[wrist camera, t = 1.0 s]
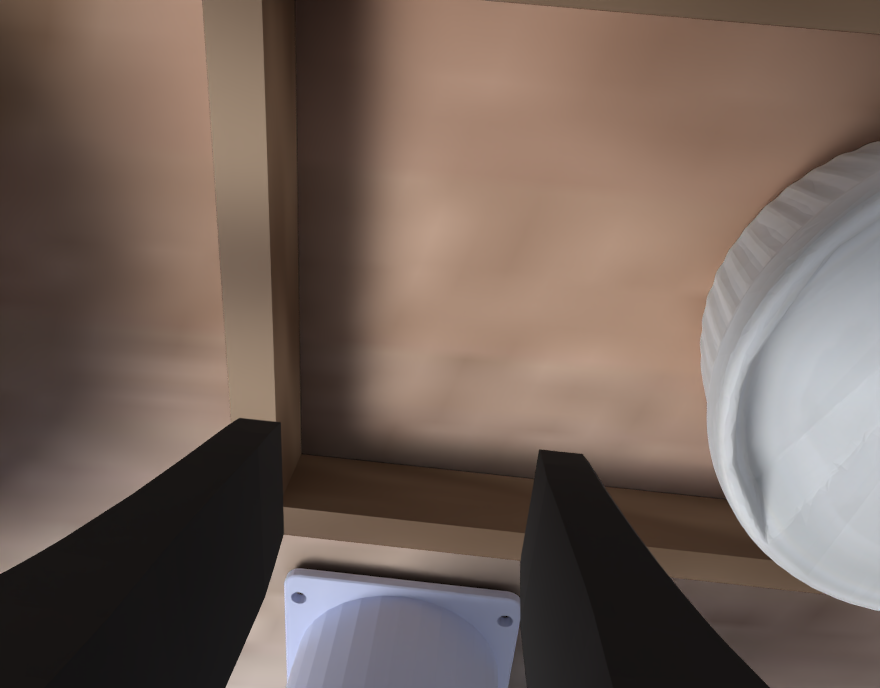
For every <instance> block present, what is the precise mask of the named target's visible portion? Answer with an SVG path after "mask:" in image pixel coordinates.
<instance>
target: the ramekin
mask: <svg viewBox="0 0 880 688" xmlns="http://www.w3.org/2000/svg"><path fill="white" fill-rule="evenodd" d="M700 351H701V373H702V378H703V385H704V390H705V395H706V400H707V434H708V442H709V449H710V453H711V458H712V462H713V466H714V469H715V472H716V475H717V478H718V480H719V483H720V485H721V488H722V490H723V492H724V494H725V496H726V499H727V501H728V503H729V505H730V506H731V508H732V510H733V512H734V514H735V515H736V517H737V519H738V520H739V522H740V524H741V525H742V527H743V528H744V529H745V531H746V532H747V534H748V535H749V536H750V538H751V539H752V540H753V541H754V542H755V543H756V544H757V545H758V547H759V548H760V549H761V550H762V551H763V552H764V553H765V554H766V555H767V556H769V557H770V558H771V559H772V560H773V561H774V562H775V563H776V564H778V565H779V566H780V567H782V568H783V569H784V570H786V571H787V572H789V573H790V574H791V575H793V576H794V577H796V578H797V579H799V580H801V581H802V582H804V583H806V584H807V585H809V586H810V587H812V588H814V589H816V590H818V591H821V592H823V593H825V594H828V595H830V596H832V597H834V598H836V599H839V600H842V601H845V602H847V603H850V604H853V605H857V606H861V607H865V608H868V609H872V610H876V611H880V141H877V142H872V143H869V144H866V145H864V146H862V147H861V148H859V149H857V150H855V151H852V152H848V153H844V154H841V155H838V156H836V157H835V158H833V159H832V160H831V161H829V162H827V163H826V164H824V165H822V166H819V167H817V168H815V169H813V170H812V171H810V172H809V173H807V174H806V175H805V176H804V177H802V178H801V179H800V180H798V181H797V182H795V183H793V184H791V185H790V186H788V187H787V188H786V189H784V191H783V192H782V193H781V194H780V195H779V196H778V197H777V198H776V199H774V200H773V201H771V202H770V203H769V204H767V205H766V206H765V207H764V208H763V209H762V210H761V212H760V213H759V214H758V215H757V216H756V218H755V219H754V220H753V221H752V222H751V223H750V224H749V225H748V226H747V227H746V228H745V229H744V231H743V232H742V234H741V236H740V237H739V238H738V240H737V241H736V242H735V243H734V245H733V246H732V247H731V248H730V249H729V251H728V253H727V255H726V258H725V260H724V262H723V263H722V265H721V266H720V268H719V269H718V270H717V272H716V275H715V280H714V284H713V286H712V288H711V290H710V292H709V293H708V296H707V301H706V308H705V311H704V314H703V318H702V334H701V338H700Z"/></svg>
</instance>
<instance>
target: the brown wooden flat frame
mask: <svg viewBox="0 0 880 688" xmlns="http://www.w3.org/2000/svg"><path fill="white" fill-rule="evenodd" d="M486 1H498V2H509V3H521V4H533V5H544V6H556V7H567V8H579V9H590V10H602V11H613V12H625V13H636V14H648V15H659V16H671V17H683V18H694V19H706V20H717V21H729V22H740V23H752V24H763V25H775V26H786V27H798V28H810V29H821V30H833V31H844V32H856V33H867V34H879V35H880V0H486ZM202 5H203V20H204V34H205V49H206V64H207V79H208V93H209V108H210V123H211V137H212V152H213V167H214V182H215V196H216V211H217V226H218V241H219V255H220V270H221V285H222V300H223V314H224V329H225V344H226V359H227V373H228V388H229V403H230V417H231V423H232V422H234V421H235V420H237V419H238V418H246V419H255V420H265V421H274V422H281V445H282V478H283V512H284V535H292V536H301V537H310V538H319V539H328V540H338V541H347V542H356V543H365V544H374V545H383V546H392V547H401V548H410V549H419V550H428V551H437V552H446V553H455V554H464V555H473V556H482V557H491V558H500V559H509V560H518V561H520V559H521V553H522V547H523V541H524V536H525V530H526V524H527V518H528V512H529V506H530V501H531V495H532V489H533V483H534V479H529V478H520V477H510V476H501V475H492V474H482V473H473V472H464V471H454V470H445V469H436V468H426V467H417V466H408V465H398V464H389V463H380V462H370V461H361V460H351V459H342V458H333V457H323V456H314V455H305V454H301V400H300V331H299V261H298V192H297V122H296V53H295V0H202ZM605 488H606V490H607V491H608V493H609V494H610V496H611V497H612V499H613V500H614V502H615V503H616V504H617V506H618V507H619V509H620V510H621V512H622V513H623V515H624V516H625V518H626V519H627V521H628V522H629V523H630V525H631V526H632V528H633V529H634V530H635V532H636V533H637V535H638V536H639V537H640V539H641V540H642V541H643V543H644V544H645V545H646V547H647V548H648V549H649V551H650V552H651V553H652V555H653V556H654V557H655V559H656V560H657V561H658V563H659V564H660V565H661V567H662V568H663V569H664V570H665V572H666V573H667V574H668V576H669V577H672V578H681V579H690V580H699V581H708V582H717V583H726V584H735V585H744V586H753V587H762V588H771V589H780V590H789V591H798V592H807V593H816V594H825V593H823V592H821V591H818V590H816V589H814V588H812V587H810V586H809V585H807V584H806V583H804V582H802V581H801V580H799V579H797V578H796V577H794V576H793V575H791V574H790V573H789V572H787V571H786V570H784V569H783V568H782V567H780V566H779V565H778V564H776V563H775V562H774V561H773V560H772V559H771V558H770V557H769V556H767V555H766V554H765V553H764V552H763V551H762V550H761V549H760V548H759V547H758V545H757V544H756V543H755V542H754V541H753V540H752V539H751V538H750V536H749V535H748V534H747V532H746V531H745V529H744V528H743V527H742V525H741V524H740V522H739V520H738V519H737V517H736V515H735V514H734V512H733V510H732V508H731V506H730V505H729V503H728V501H727V500H725V499H716V498H706V497H697V496H688V495H678V494H669V493H660V492H650V491H641V490H632V489H622V488H613V487H605ZM825 595H828V594H825Z"/></svg>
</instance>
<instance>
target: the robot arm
mask: <svg viewBox="0 0 880 688" xmlns="http://www.w3.org/2000/svg"><path fill="white" fill-rule="evenodd" d="M283 535H284V512H283V478H282V445H281V422H274V421H265V420H255V419H246V418H238V419H237V420H235V421H234V422H232V423H231V424H229V425H228V426H227V427H225V428H224V429H222V430H221V431H220V432H218V433H217V434H215V435H214V436H213V437H211V438H210V439H209V440H207V441H206V442H205V443H203V444H202V445H201V446H199V447H198V448H196V449H195V450H194V451H192V452H191V453H190V454H188V455H187V456H186V457H184V458H183V459H181V460H180V461H179V462H177V463H176V464H174V465H173V466H172V467H170V468H169V469H167V470H166V471H165V472H163V473H162V474H160V475H159V476H157V477H156V478H155V479H153V480H152V481H150V482H149V483H148V484H146V485H145V486H143V487H142V488H140V489H139V490H138V491H136V492H135V493H133V494H132V495H130V496H129V497H127V498H126V499H124V500H123V501H121V502H119V503H118V504H116V505H115V506H113V507H112V508H110V509H109V510H107V511H105V512H104V513H102V514H101V515H99V516H98V517H96V518H95V519H93V520H91V521H90V522H88V523H87V524H85V525H84V526H82V527H80V528H79V529H77V530H76V531H74V532H73V533H71V534H70V535H68V536H66V537H65V538H63V539H62V540H60V541H58V542H57V543H55V544H53V545H52V546H50V547H48V548H46V549H45V550H43V551H41V552H40V553H38V554H36V555H34V556H32V557H31V558H29V559H27V560H25V561H24V562H22V563H20V564H18V565H16V566H15V567H13V568H11V569H9V570H7V571H5V572H3V573H2V574H0V688H225V687H226V685H227V683H228V680H229V678H230V676H231V674H232V671H233V669H234V667H235V665H236V662H237V660H238V658H239V655H240V653H241V651H242V649H243V646H244V644H245V642H246V639H247V637H248V635H249V633H250V630H251V628H252V626H253V623H254V621H255V619H256V616H257V614H258V612H259V609H260V607H261V605H262V602H263V600H264V598H265V595H266V592H267V589H268V585H269V582H270V579H271V576H272V573H273V569H274V566H275V563H276V559H277V556H278V552H279V549H280V545H281V542H282V538H283ZM297 592H300V593H303V594H304V595H301V594H298V593H297ZM284 594H285V626H286V659H287V685H286V688H508V685H509V679H510V674H511V668H512V663H513V657H514V652H515V646H516V641H517V635H518V629H519V624H520V627H521V637H522V646H523V655H524V665H525V674H526V683H527V688H770V687H768V685H767V684H766V683H765V682H764V681H763V680H762V679H761V678H760V677H759V676H758V675H757V674H756V673H755V672H754V671H753V670H752V669H751V668H750V667H749V666H748V665H747V664H746V663H745V662H744V661H743V660H742V659H741V658H740V657H739V656H738V655H737V654H736V653H735V652H734V651H733V650H732V649H731V648H730V647H729V646H728V645H727V643H726V642H725V641H724V640H723V639H722V638H721V637H720V636H719V635H718V634H717V633H716V631H715V630H714V629H713V628H712V627H711V626H710V625H709V624H708V623H707V621H706V620H705V619H704V618H703V617H702V616H701V614H700V613H699V612H698V611H697V610H696V608H695V607H694V606H693V605H692V604H691V603H690V601H689V600H688V599H687V598H686V597H685V595H684V594H683V593H682V592H681V591H680V589H679V588H678V587H677V586H676V584H675V583H674V582H673V581H672V579H671V578H670V577H669V576H668V574H667V573H666V572H665V570H664V569H663V568H662V567H661V565H660V564H659V563H658V561H657V560H656V559H655V557H654V556H653V555H652V553H651V552H650V551H649V549H648V548H647V547H646V545H645V544H644V543H643V541H642V540H641V539H640V537H639V536H638V535H637V533H636V532H635V530H634V529H633V528H632V526H631V525H630V523H629V522H628V521H627V519H626V518H625V516H624V515H623V513H622V512H621V510H620V509H619V507H618V506H617V504H616V503H615V502H614V500H613V499H612V497H611V496H610V494H609V493H608V491H607V490H606V488H605V487H604V485H603V484H602V482H601V480H600V479H599V477H598V476H597V474H596V473H595V471H594V470H593V468H592V467H591V465H590V463H589V462H588V461H587V459H586V458H585V457H584V456H583V454H576V453H567V452H558V451H548V450H539V454H538V460H537V466H536V471H535V477H534V483H533V489H532V495H531V501H530V506H529V512H528V518H527V524H526V530H525V536H524V541H523V547H522V553H521V559H520V597H519V596H518V595H516V594H515V593H512V592H508V591H499V590H490V589H481V588H472V587H463V586H454V585H446V584H437V583H428V582H419V581H410V580H401V579H392V578H383V577H374V576H365V575H356V574H347V573H338V572H329V571H321V570H312V569H303V568H296V569H293V570H291V571H290V572H289V573H288V574H287V577H286V579H285V583H284ZM501 616H509V617H506V618H503V617H501Z"/></svg>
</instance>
